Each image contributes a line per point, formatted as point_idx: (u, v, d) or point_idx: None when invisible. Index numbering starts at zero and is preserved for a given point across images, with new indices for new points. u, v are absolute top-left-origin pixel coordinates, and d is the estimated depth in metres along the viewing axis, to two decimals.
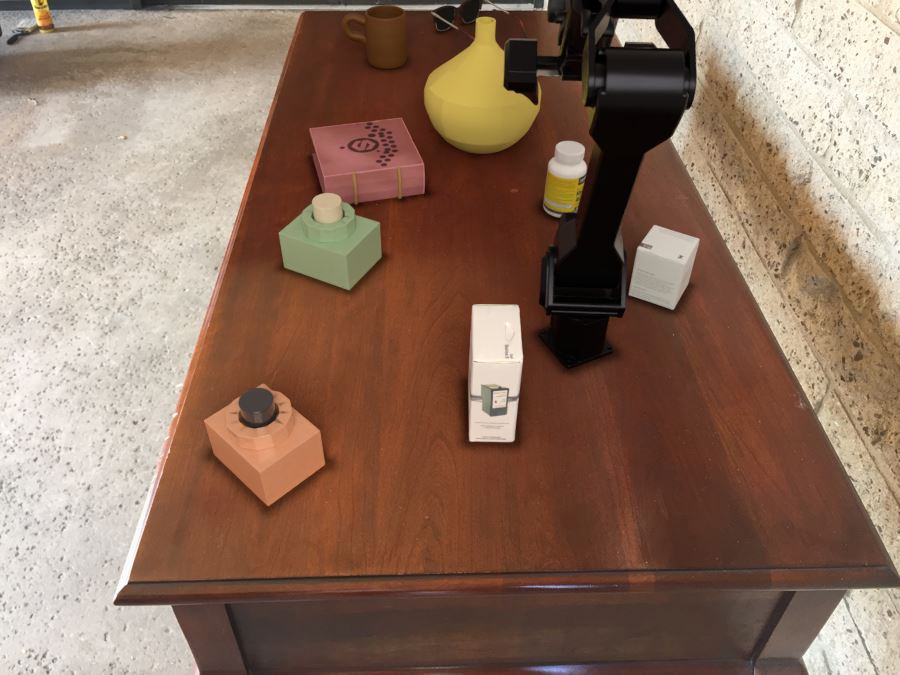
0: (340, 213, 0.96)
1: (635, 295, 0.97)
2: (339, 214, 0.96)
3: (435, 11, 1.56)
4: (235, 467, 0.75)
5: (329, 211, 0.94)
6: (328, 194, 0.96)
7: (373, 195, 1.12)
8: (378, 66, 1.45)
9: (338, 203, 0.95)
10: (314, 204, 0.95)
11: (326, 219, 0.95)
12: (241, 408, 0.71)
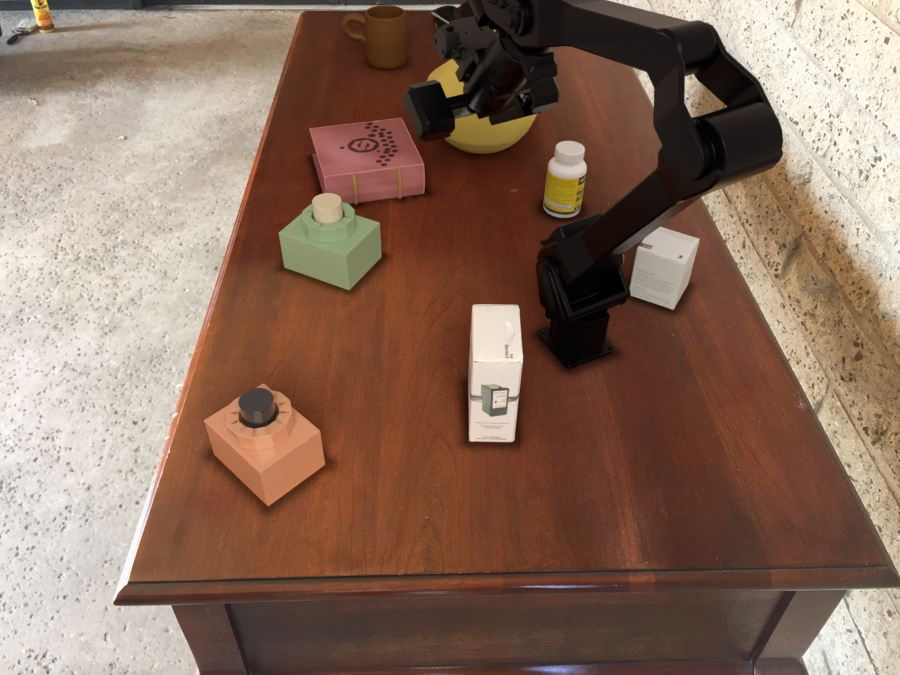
0: (340, 213, 0.96)
1: (635, 295, 0.97)
2: (339, 214, 0.96)
3: (435, 11, 1.56)
4: (235, 467, 0.75)
5: (329, 211, 0.94)
6: (328, 194, 0.96)
7: (373, 195, 1.12)
8: (378, 66, 1.45)
9: (338, 203, 0.95)
10: (314, 204, 0.95)
11: (326, 219, 0.95)
12: (241, 408, 0.71)
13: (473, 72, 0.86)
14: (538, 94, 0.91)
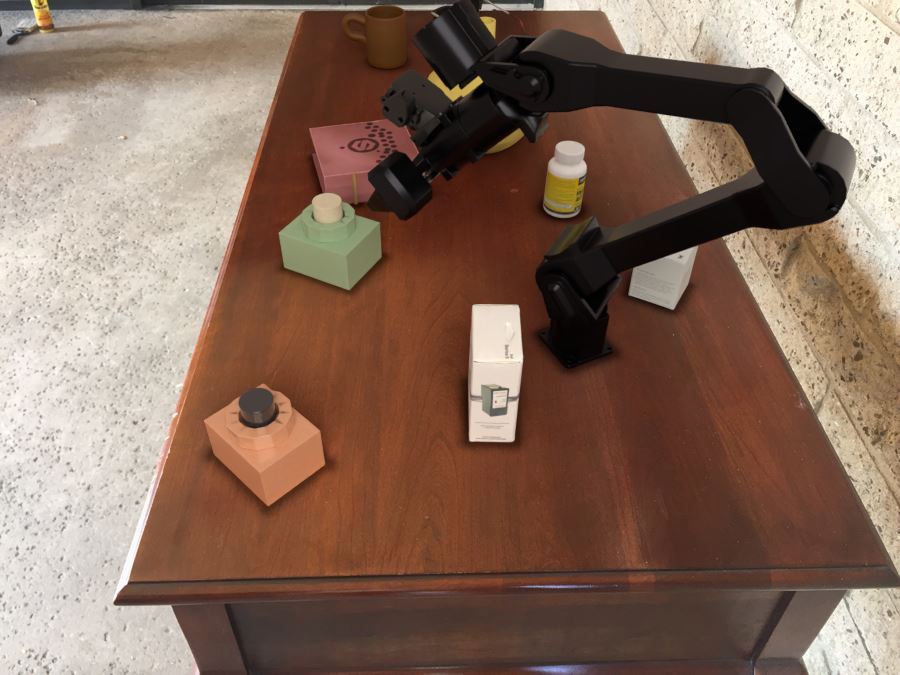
0: (340, 213, 0.96)
1: (635, 295, 0.97)
2: (339, 214, 0.96)
3: (435, 11, 1.56)
4: (235, 467, 0.75)
5: (329, 211, 0.94)
6: (328, 194, 0.96)
7: None
8: (378, 66, 1.45)
9: (338, 203, 0.95)
10: (314, 204, 0.95)
11: (326, 219, 0.95)
12: (241, 408, 0.71)
13: (441, 136, 0.79)
14: None
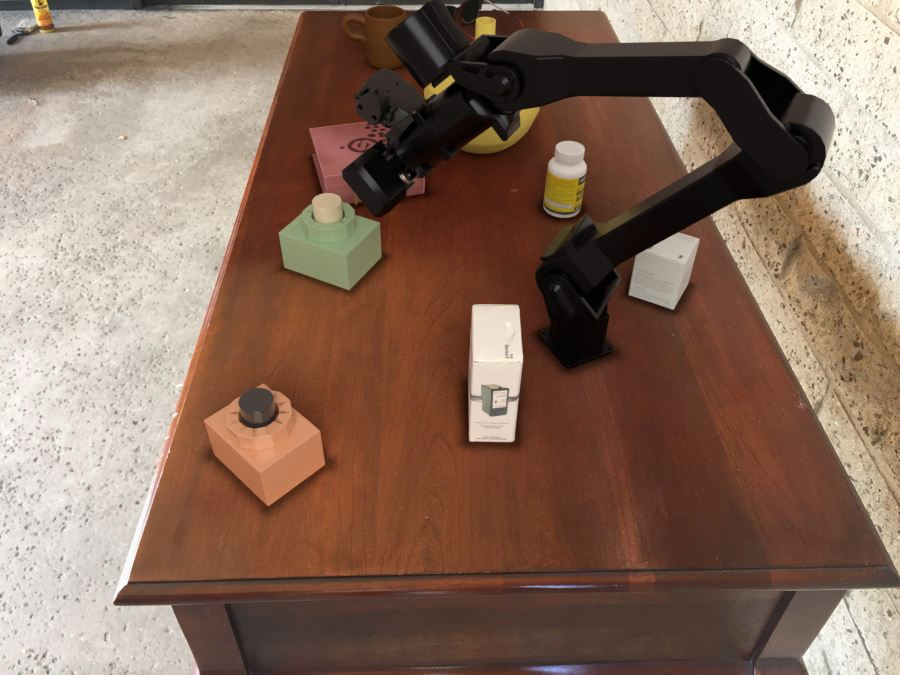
0: (340, 213, 0.96)
1: (635, 295, 0.97)
2: (339, 214, 0.96)
3: None
4: (235, 467, 0.75)
5: (329, 211, 0.94)
6: (328, 194, 0.96)
7: None
8: (378, 66, 1.45)
9: (338, 203, 0.95)
10: (314, 204, 0.95)
11: (326, 219, 0.95)
12: (241, 408, 0.71)
13: (414, 134, 0.80)
14: None
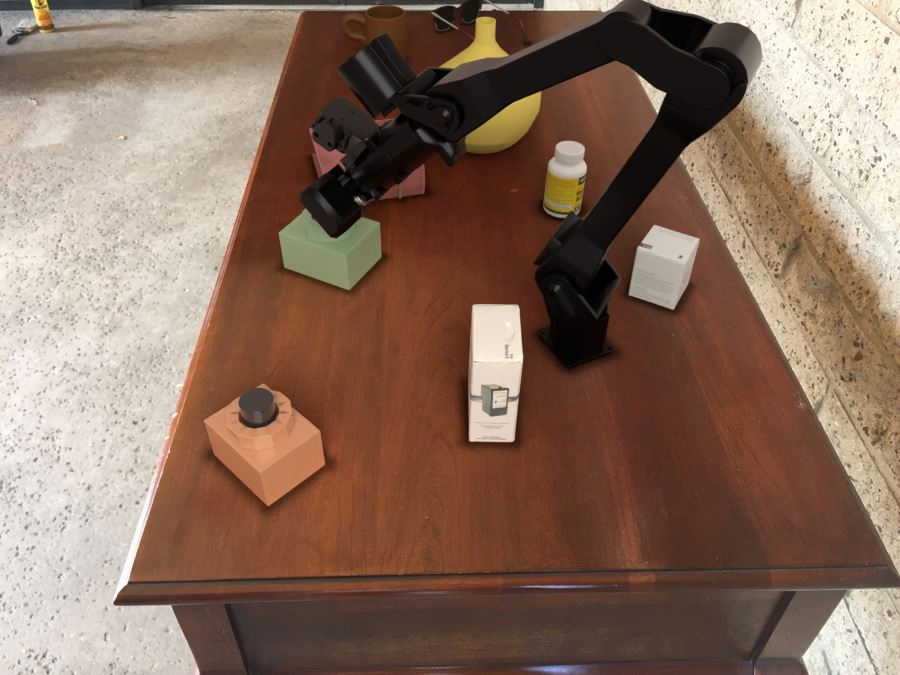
0: None
1: (635, 295, 0.97)
2: None
3: (435, 11, 1.56)
4: (235, 467, 0.75)
5: None
6: None
7: None
8: None
9: None
10: None
11: None
12: (241, 408, 0.71)
13: (368, 159, 0.85)
14: None
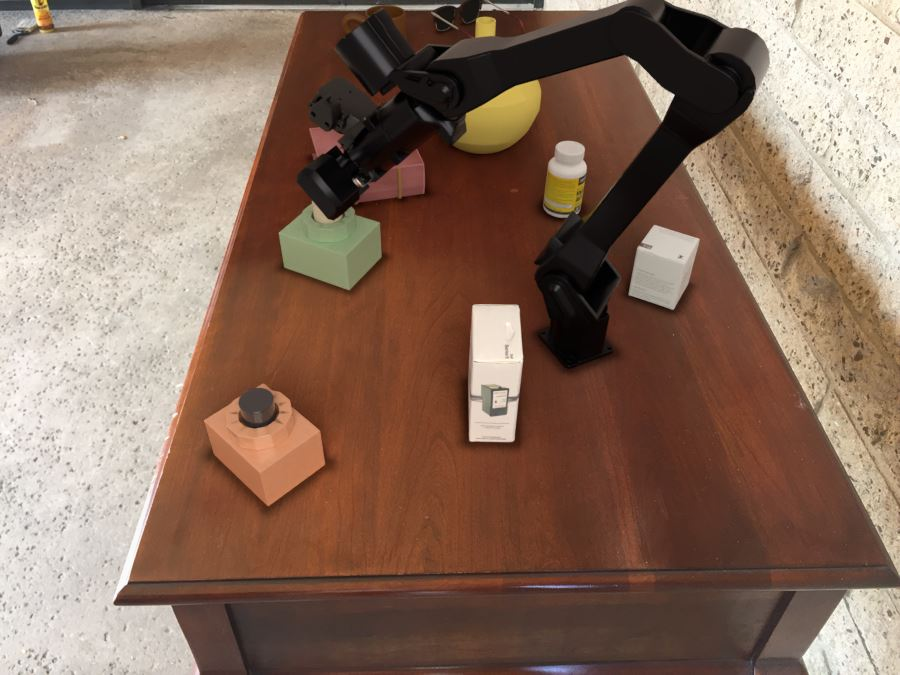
0: None
1: (635, 295, 0.97)
2: None
3: (435, 11, 1.56)
4: (235, 467, 0.75)
5: None
6: None
7: (373, 195, 1.12)
8: None
9: None
10: (314, 204, 0.95)
11: (326, 219, 0.95)
12: (241, 408, 0.71)
13: (366, 139, 0.83)
14: None
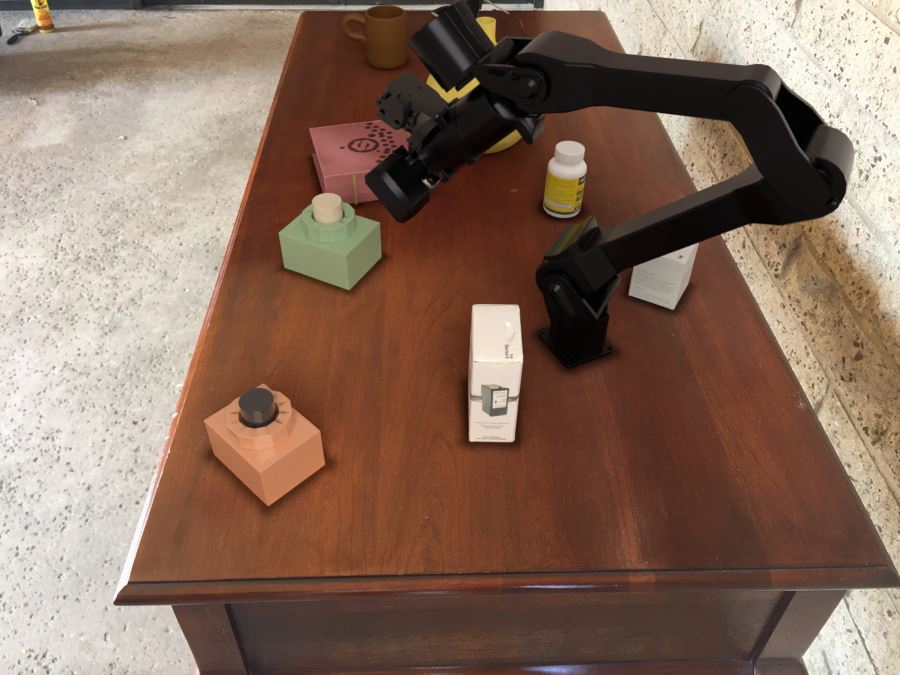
0: (340, 213, 0.96)
1: (635, 295, 0.97)
2: (339, 214, 0.96)
3: (435, 11, 1.56)
4: (235, 467, 0.75)
5: (329, 211, 0.94)
6: (328, 194, 0.96)
7: (373, 195, 1.12)
8: (378, 66, 1.45)
9: (338, 203, 0.95)
10: (314, 204, 0.95)
11: (326, 219, 0.95)
12: (241, 408, 0.71)
13: (437, 138, 0.79)
14: None
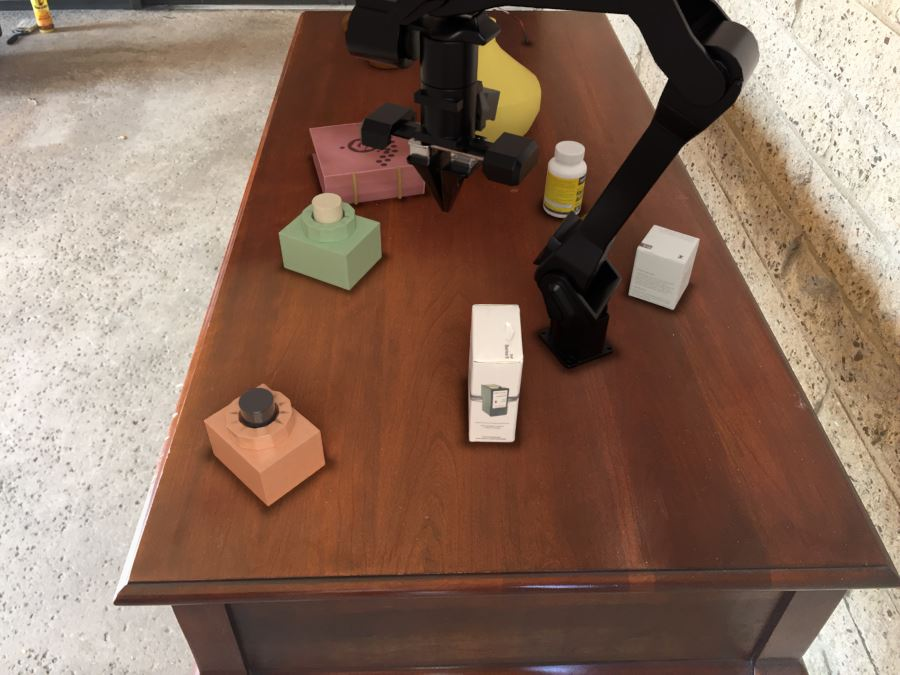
0: (340, 213, 0.96)
1: (635, 295, 0.97)
2: (339, 214, 0.96)
3: None
4: (235, 467, 0.75)
5: (329, 211, 0.94)
6: (328, 194, 0.96)
7: (373, 195, 1.12)
8: (378, 66, 1.45)
9: (338, 203, 0.95)
10: (314, 204, 0.95)
11: (326, 219, 0.95)
12: (241, 408, 0.71)
13: None
14: (491, 150, 0.78)
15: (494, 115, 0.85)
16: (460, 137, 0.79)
